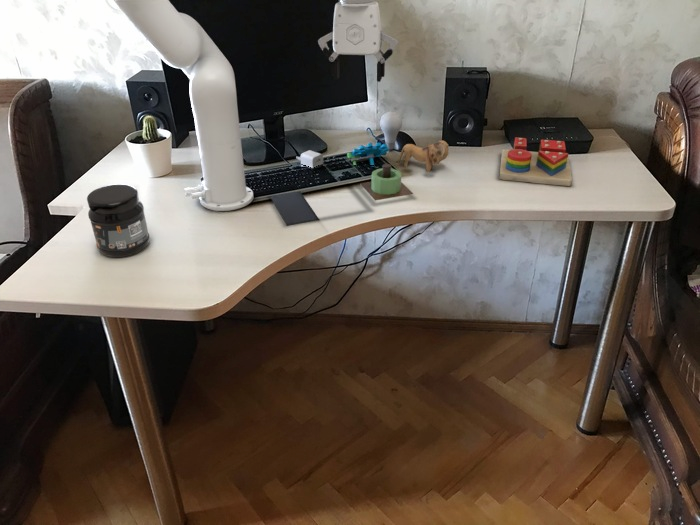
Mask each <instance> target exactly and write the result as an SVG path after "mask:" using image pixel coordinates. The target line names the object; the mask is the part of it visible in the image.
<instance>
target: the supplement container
mask: <svg viewBox="0 0 700 525" xmlns="http://www.w3.org/2000/svg"><path fill="white" fill-rule="evenodd" d="M86 201H87V205H88V208H89V209H88V213H87V216H88V219H89V222H90V224H91V228H92V231H93V235H94V240H95V244H96V248H97V250H98V251H99V252H100V254H102V255H104V256H107V257H112V258H113V257H114V258H123V257H128V256H132V255H135V254H137V253H139V252H141V251H142V250H144V249H145V248H147V246H148V245H149V242H150V241H151V240H150V239H151V238H150V233H149V228H148V224H147V219H146V215H145V207H144V204H143V202H141V200H140V196H139V192H138V189H137V188H136V187H134V186H133V185H130V184H123V183H115V184H107V185H104V186H100V187H98V188H96V189H94V190H92V191H91V192H90V193H88V195H87V197H86Z"/></svg>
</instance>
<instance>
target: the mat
mask: <svg viewBox="0 0 700 525" xmlns="http://www.w3.org/2000/svg"><path fill="white" fill-rule="evenodd" d="M269 197H270V199H271V201H272V202H273V204H274V206H275V207H276V209H277V212H278V213H279V215H280V216H281V218H282V220H283V221H284V224H285V225H286V226H293V225H299V224H304V223H310V222H316V221H320V218H319V217H318V215H317V214H316V212H315V211H314V209H313V208H312V206H311V205H310V203H309V202H308V201H307V199H306V197H305V196H304V194H303V193H302V192H301V191H299V190H298V191H293V192H288V193H287V192H286V193H281V194H275V195H270V196H269Z"/></svg>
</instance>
